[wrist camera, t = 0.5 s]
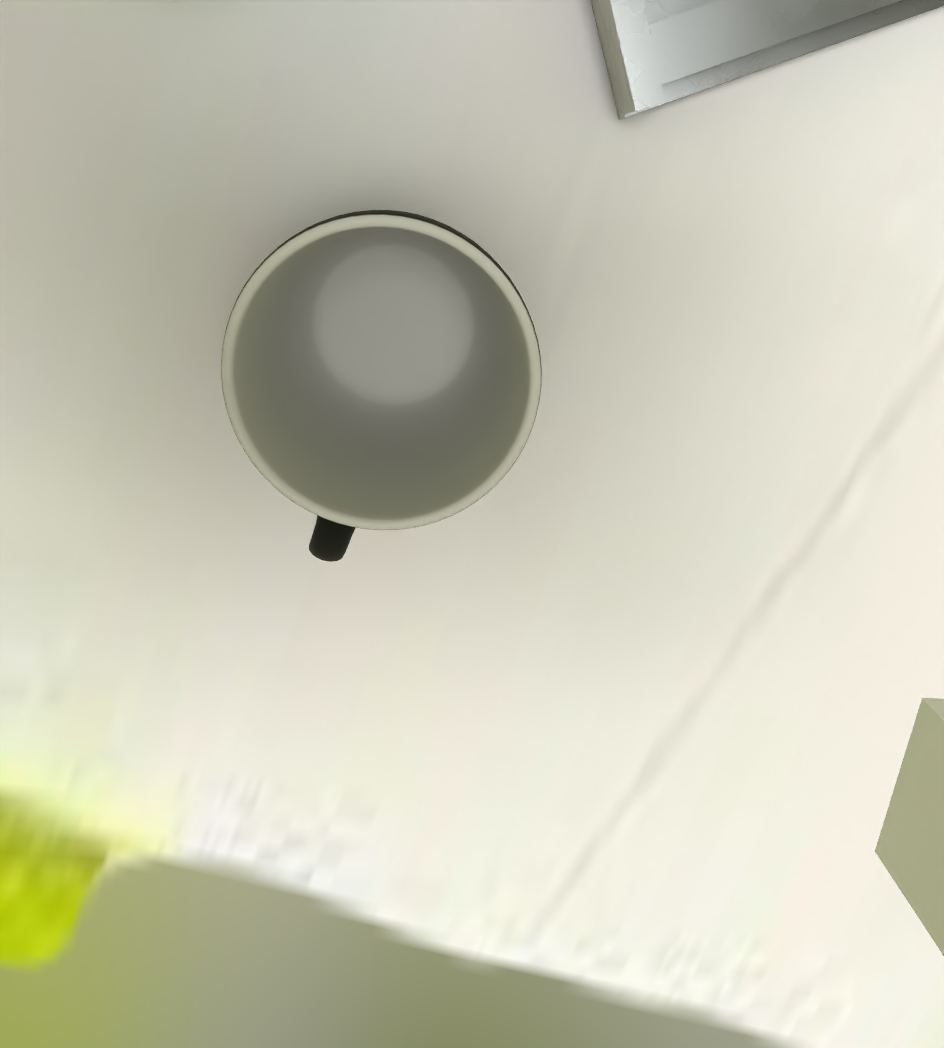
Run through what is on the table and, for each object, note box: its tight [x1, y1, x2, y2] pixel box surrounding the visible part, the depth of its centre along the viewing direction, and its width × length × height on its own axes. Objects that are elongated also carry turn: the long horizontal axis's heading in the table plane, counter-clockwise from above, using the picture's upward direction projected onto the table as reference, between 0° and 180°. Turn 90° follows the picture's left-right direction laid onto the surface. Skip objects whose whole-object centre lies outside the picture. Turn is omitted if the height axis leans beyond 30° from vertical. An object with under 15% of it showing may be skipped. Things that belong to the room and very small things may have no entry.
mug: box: [221, 210, 541, 561], centre depth 30 cm, size 12×9×10 cm
